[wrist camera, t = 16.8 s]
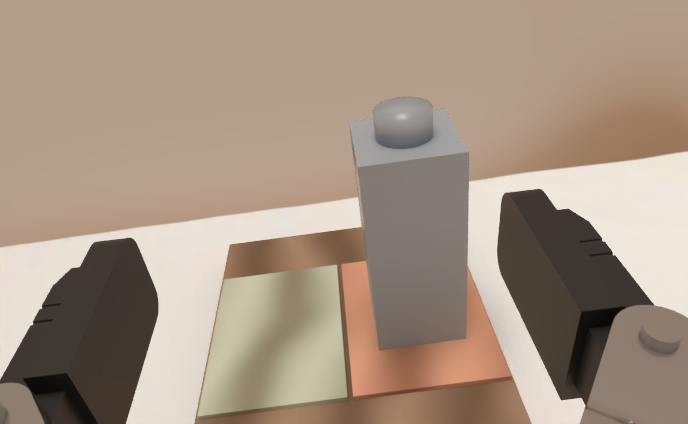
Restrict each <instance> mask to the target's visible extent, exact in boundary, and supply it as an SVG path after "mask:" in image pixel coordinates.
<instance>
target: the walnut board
mask: <svg viewBox="0 0 688 424" xmlns="http://www.w3.org/2000/svg"><path fill="white" fill-rule="evenodd" d="M195 424H531V421H530V419H529V416H528V414H527V411H526V409H525V407H524V404H523V402H522V399H521V397H520V394H519V392H518V389H517V387H516V384H515V382H514V379H513V377H512V374H511V372H510V369H509V367H508V364H507V362H506V360H505V357H504V355H503V352H502V350H501V347H500V345H499V342H498V340H497V337H496V335H495V332H494V330H493V327H492V325H491V322H490V320H489V317H488V315H487V313H486V310H485V308H484V305H483V303H482V300H481V298H480V295H479V293H478V290H477V288H476V285H475V283H474V280H473V278H472V275H471V273H470V270H469V268H468V266H467V318H466V339H460V340H452V341H445V342H438V343H430V344H423V345H415V346H408V347H400V348H393V349H385V350H379V346H378V339H377V333H376V327H375V321H374V315H373V308H372V302H371V296H370V289H369V281H368V273H367V264H366V256H365V248H364V240H363V232H362V227H359V228H352V229H344V230H337V231H329V232H322V233H314V234H307V235H299V236H292V237H284V238H276V239H269V240H261V241H254V242H246V243H239V244H231V245H230V246H229V252H228V257H227V262H226V267H225V272H224V277H223V282H222V287H221V292H220V297H219V302H218V307H217V312H216V317H215V322H214V328H213V333H212V338H211V343H210V348H209V353H208V358H207V363H206V368H205V373H204V378H203V383H202V388H201V393H200V398H199V403H198V409H197V414H196V419H195Z"/></svg>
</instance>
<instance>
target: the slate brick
mask: <svg viewBox="0 0 688 424" xmlns="http://www.w3.org/2000/svg"><path fill="white" fill-rule="evenodd" d="M349 125H350V133H351V142H352V150H353V158H354V166H355V174H356V183H357V191H358V199H359V207H360V215H361V224H362V232H363V240H364V248H365V256H366V264H367V273H368V281H369V289H370V296H371V302H372V308H373V315H374V321H375V327H376V333H377V339H378V346H379V350H385V349H393V348H400V347H408V346H415V345H423V344H430V343H438V342H445V341H452V340H460V339H466V318H467V255H468V191H469V151H468V149H467V147H466V146H465V144H464V142H463V141H462V139H461V137H460V136H459V134H458V132H457V130H456V129H455V127H454V125H453V123H452V122H451V120H450V118H449V117H448V115H447V113H446V111H445V110H444V109H436V110H433V106H432V104H431V102H429V101H428V100H425V99H423V98H418V97H397V98H392V99H388V100H385V101H383V102H381V103H379V104H377V105H376V106H375V107H374V109H373V118H371V119H364V120H356V121H350V122H349Z"/></svg>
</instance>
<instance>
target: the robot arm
mask: <svg viewBox="0 0 688 424" xmlns="http://www.w3.org/2000/svg"><path fill="white" fill-rule="evenodd" d="M497 256H498V264H499V268H500V272H501V275H502V277H503V279H504V282H505V284H506V286H507V288H508V290H509V292H510V294H511V296H512V298H513V300H514V302H515V305H516V307H517V309H518V311H519V313H520V315H521V317H522V319H523V321H524V323H525V326H526V328H527V330H528V332H529V334H530V336H531V338H532V340H533V342H534V344H535V346H536V349H537V351H538V353H539V355H540V357H541V359H542V361H543V363H544V365H545V367H546V369H547V372H548V374H549V376H550V378H551V380H552V382H553V384H554V386H555V388H556V390H557V393H558V395H559V397H560V399H561V400H567V399H575V398H582V399H583V401H584V403H585V405H586V407H585V410H584V413H583V416H582V419H581V422H580V424H688V318H687V317H685V316H683V315H682V314H679V313H677V312H675V311H673V310H670V309H667V308H663V307H659V306H654V304H653V303H652V302H651V301H650V299H649V298H648V297H647V295H646V294H645V293H644V292H643V290H642V289H641V288H640V286H639V285H638V284H637V283H636V281H635V280H634V279H633V277H632V276H631V275H630V274H629V272H628V271H627V270H626V268H625V267H624V266H623V265H622V263H621V262H620V261H619V260H618V258H617V257H616V256H615V255H614V256H613V253H612V251H611V249H610V248H609V247H608V245H607V244H606V243H605V242H602V238H601V236H600V235H599V234H598V233H597V231H596V230H595V229H594V227H593V226H592V225H591V224H590V222H589V221H587V220H585V219H584V218H582V217H581V216H579V215H577V214H576V213H574V212H573V211H571V210H569V209H562V210H557V209H556V208H555V207H554V205H553V204H552V202H551V201H550V200H549V198H548V197H547V195H546V194H545V193H544V192H543V191H542V190H541V189H535V190H527V191H518V192H510V193H505V194H504V195H503V197H502V202H501V213H500V224H499V235H498V246H497ZM157 316H158V297H157V292H156V289H155V286H154V284H153V282H152V279H151V277H150V274H149V272H148V269H147V267H146V265H145V262H144V260H143V257H142V255H141V253H140V250H139V248H138V245H137V243H136V242H135V241H134V240H133V239H132V238H124V239H116V240H108V241H100V242H95V243H93V244H92V245H91V247H90V249H89V251H88V253H87V255H86V257H85V258H84V260H83V262H82V264H81V266H80V267H78V268H72V269H70V270H69V271H68V272H67V273H66V274H65V275H64V276H63V277H62V278H61V279H60V280H59V281H58V282H57V283H56V284H54V285H53V287H52V288H51V290H50V292H49V294H48V295H47V297H46V299H45V301H44V303H43V304H42V309H40V310H39V312H38V313H37V315H36V317H35V319H34V321H33V325H31V326H30V328H29V329H28V331H27V333H26V335H25V337H24V338H23V340H22V342H21V344H20V346H19V347H18V349H17V351H16V353H15V355H14V356H13V358H12V360H11V362H10V363H9V365H8V367H7V369H6V371H5V372H4V374H3V376H2V378H1V380H0V424H126V421H127V417H128V414H129V411H130V407H131V404H132V401H133V397H134V394H135V391H136V387H137V384H138V381H139V377H140V374H141V371H142V367H143V364H144V360H145V357H146V354H147V350H148V347H149V344H150V340H151V337H152V334H153V330H154V327H155V324H156V320H157Z"/></svg>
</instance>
